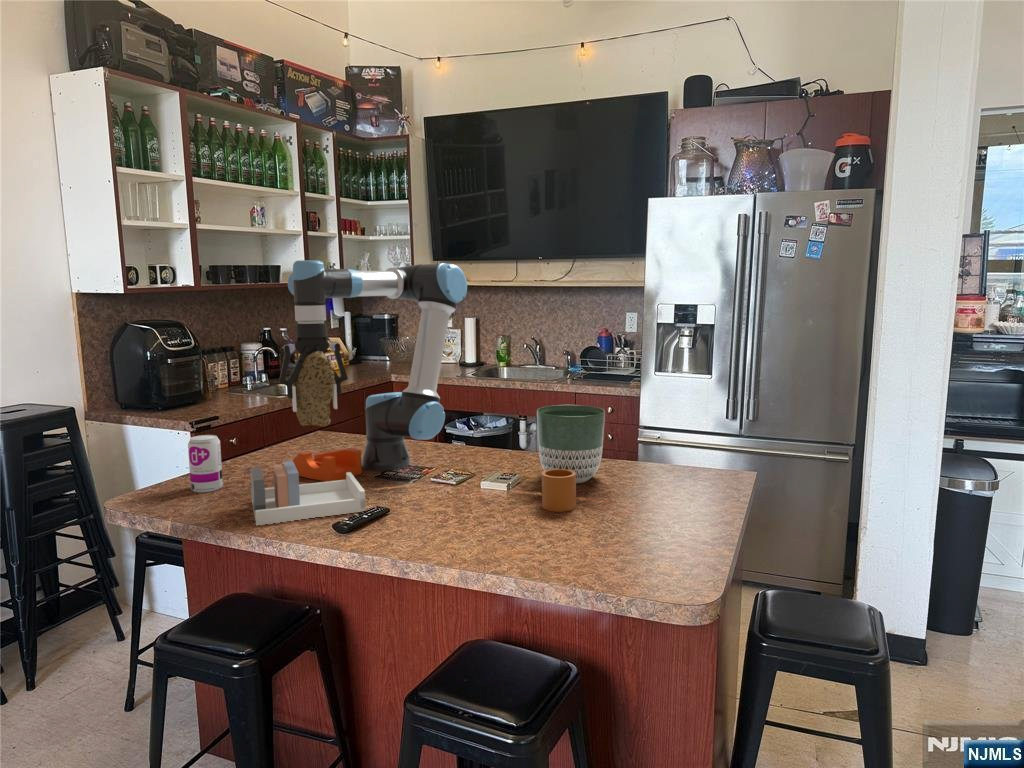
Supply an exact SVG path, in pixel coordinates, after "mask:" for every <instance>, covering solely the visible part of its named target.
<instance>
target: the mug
mask: <svg viewBox="0 0 1024 768" xmlns="http://www.w3.org/2000/svg"><path fill="white" fill-rule="evenodd" d="M541 506H542V507H541V508H542V509H544V510H545V511H549V512H555V513H556V512H559V513H560V512H561V513H563V512H569V511H574V510H575V509H576V507H577V484H576V473H575V472H574V471H571V470H567V469H551V470H546V471H544V470H543V471H542V472H541Z"/></svg>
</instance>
